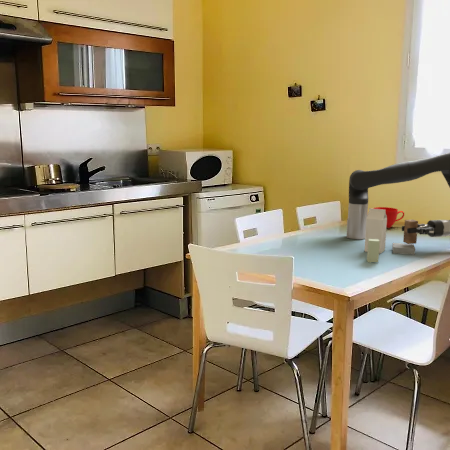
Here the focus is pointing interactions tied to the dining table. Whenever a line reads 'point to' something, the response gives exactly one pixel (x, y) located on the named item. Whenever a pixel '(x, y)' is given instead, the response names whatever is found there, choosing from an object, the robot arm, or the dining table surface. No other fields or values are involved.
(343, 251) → the dining table surface
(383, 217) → the milk carton
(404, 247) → the grey slab
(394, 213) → the ceramic cup
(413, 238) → the walnut block
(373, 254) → the sage block
